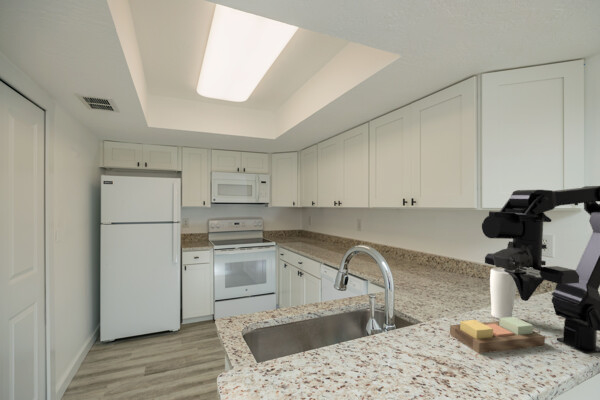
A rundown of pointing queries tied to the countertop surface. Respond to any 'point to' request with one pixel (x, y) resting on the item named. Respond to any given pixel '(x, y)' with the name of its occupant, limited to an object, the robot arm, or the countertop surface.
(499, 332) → the terracotta key
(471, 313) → the countertop surface
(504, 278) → the white tall cylinder
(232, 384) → the countertop surface
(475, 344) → the brown wooden slotted tray
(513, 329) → the sage key
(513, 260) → the robot arm
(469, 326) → the ochre key
